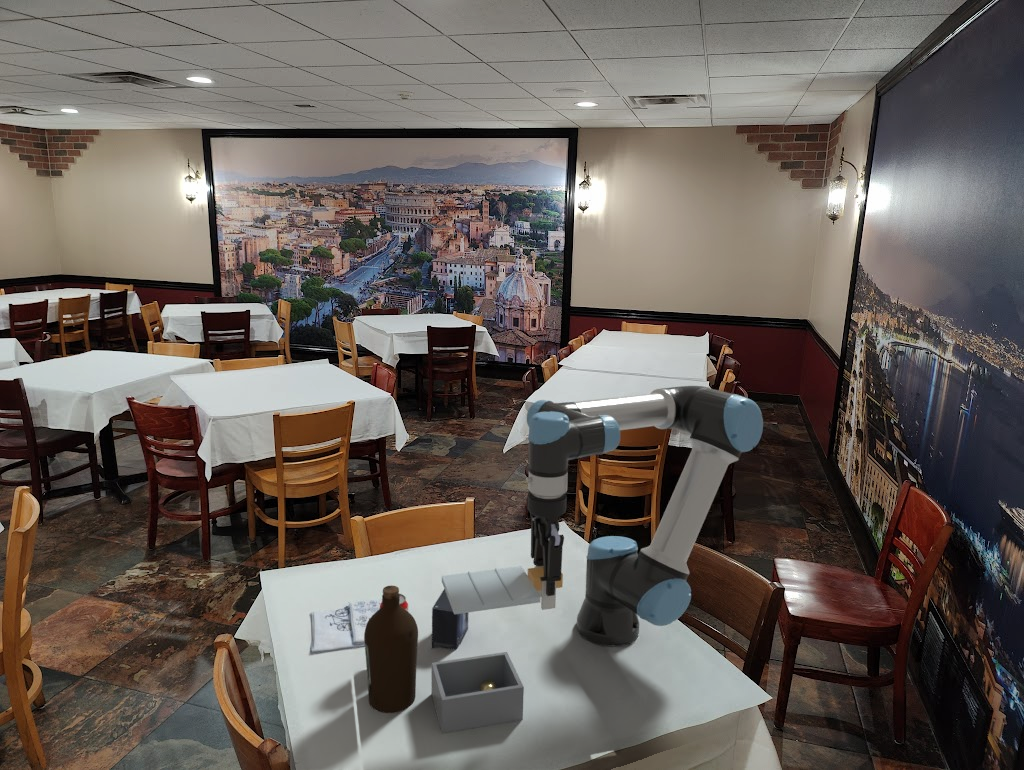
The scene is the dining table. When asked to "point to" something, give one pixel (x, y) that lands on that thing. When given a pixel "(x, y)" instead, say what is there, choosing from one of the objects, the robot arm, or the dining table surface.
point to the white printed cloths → (342, 626)
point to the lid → (494, 588)
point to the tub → (476, 692)
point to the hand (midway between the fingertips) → (544, 601)
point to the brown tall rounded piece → (391, 655)
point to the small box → (447, 624)
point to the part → (488, 685)
